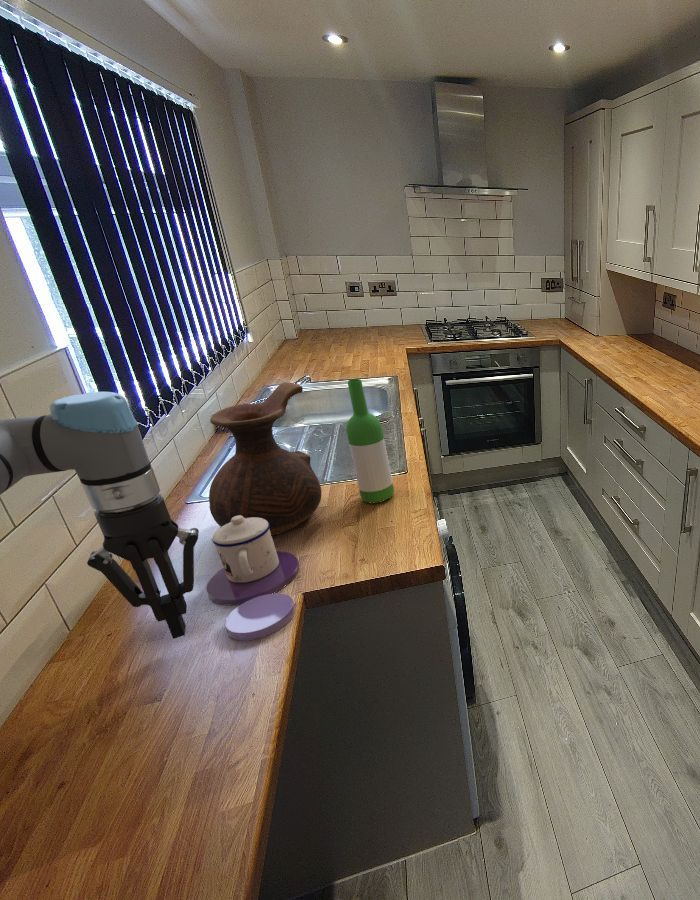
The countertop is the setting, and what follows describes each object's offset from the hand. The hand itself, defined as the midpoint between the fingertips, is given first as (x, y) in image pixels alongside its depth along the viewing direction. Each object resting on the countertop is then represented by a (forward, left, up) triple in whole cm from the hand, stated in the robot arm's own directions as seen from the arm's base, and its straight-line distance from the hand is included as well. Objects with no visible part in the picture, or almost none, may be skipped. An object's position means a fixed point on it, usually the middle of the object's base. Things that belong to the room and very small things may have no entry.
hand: (179, 631), depth 83 cm
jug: (+15, +36, -3) cm, 39 cm away
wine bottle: (+37, +35, -3) cm, 51 cm away
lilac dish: (+11, 0, -3) cm, 11 cm away
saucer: (+10, +14, -3) cm, 18 cm away
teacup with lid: (+10, +14, -2) cm, 17 cm away
